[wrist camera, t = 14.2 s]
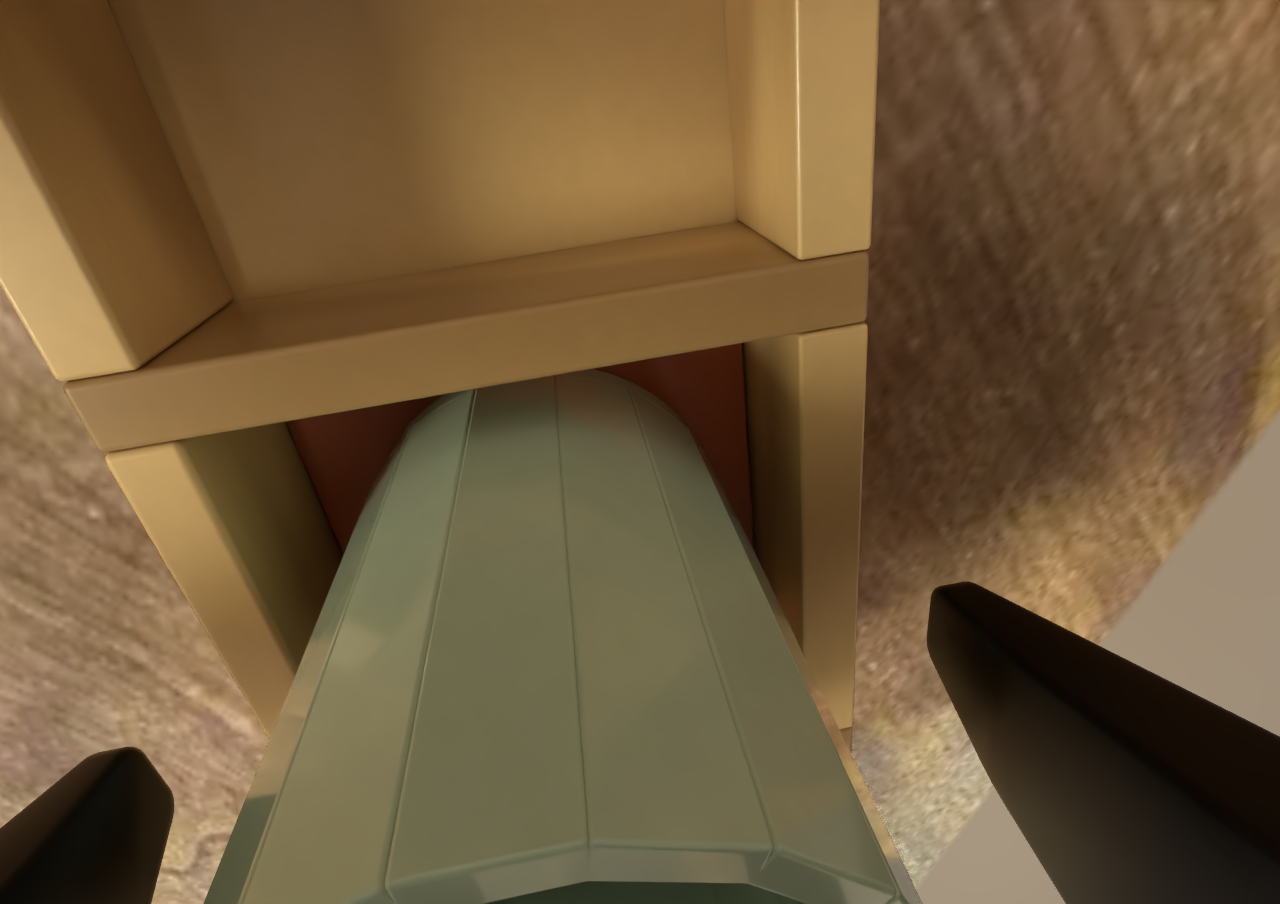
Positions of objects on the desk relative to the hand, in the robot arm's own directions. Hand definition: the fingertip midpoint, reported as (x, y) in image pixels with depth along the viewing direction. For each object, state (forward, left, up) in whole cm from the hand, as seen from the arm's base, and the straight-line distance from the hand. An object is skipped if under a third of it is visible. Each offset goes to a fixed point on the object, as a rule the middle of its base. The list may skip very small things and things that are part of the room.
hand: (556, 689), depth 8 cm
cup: (0, 0, -4) cm, 4 cm away
